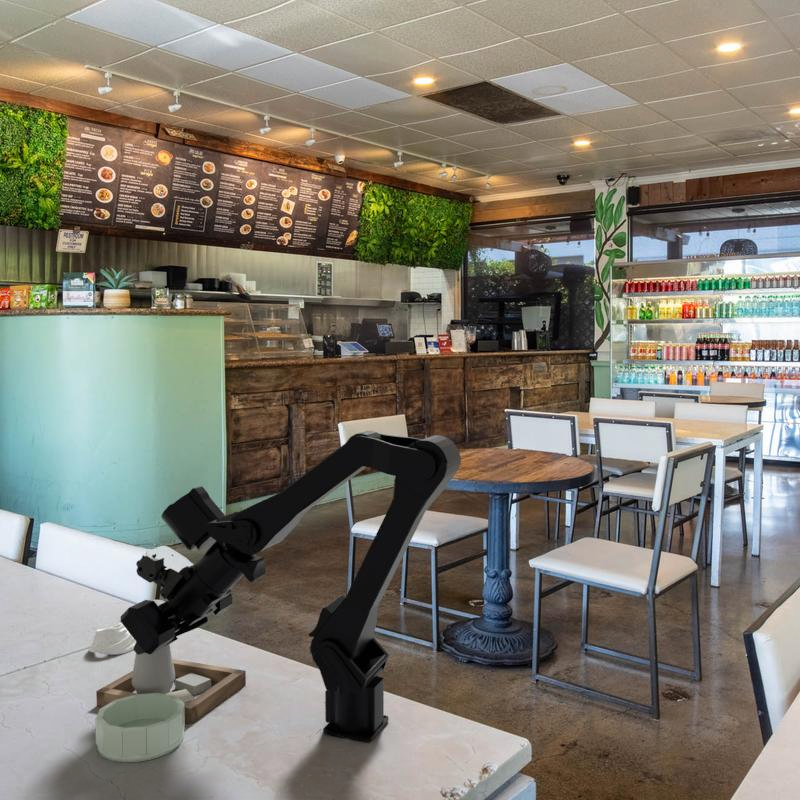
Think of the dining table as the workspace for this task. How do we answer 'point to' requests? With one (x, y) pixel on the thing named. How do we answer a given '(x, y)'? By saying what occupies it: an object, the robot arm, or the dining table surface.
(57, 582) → the dining table surface
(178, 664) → the tray
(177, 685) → the off-white rectangular block
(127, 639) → the whipped cream
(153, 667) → the salt shaker
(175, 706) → the bowl
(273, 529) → the robot arm
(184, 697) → the beige rectangular block
